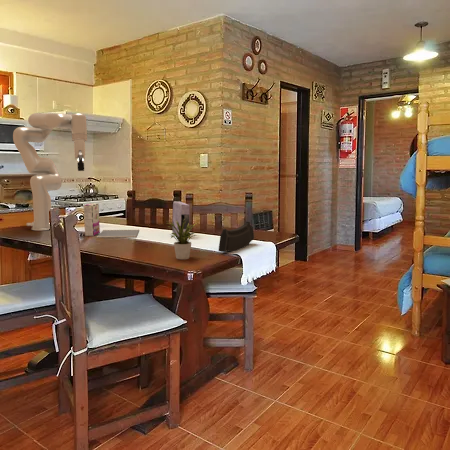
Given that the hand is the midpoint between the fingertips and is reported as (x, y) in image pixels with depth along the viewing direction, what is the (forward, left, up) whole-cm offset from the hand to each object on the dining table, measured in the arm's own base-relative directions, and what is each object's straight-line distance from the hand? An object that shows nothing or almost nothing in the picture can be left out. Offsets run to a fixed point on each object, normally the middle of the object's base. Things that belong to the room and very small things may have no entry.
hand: (81, 170), depth 236 cm
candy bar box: (+5, -2, -34) cm, 35 cm away
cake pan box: (+52, -10, -34) cm, 63 cm away
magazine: (+77, -49, -34) cm, 97 cm away
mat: (+19, -2, -34) cm, 39 cm away
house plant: (+50, -68, -34) cm, 91 cm away
